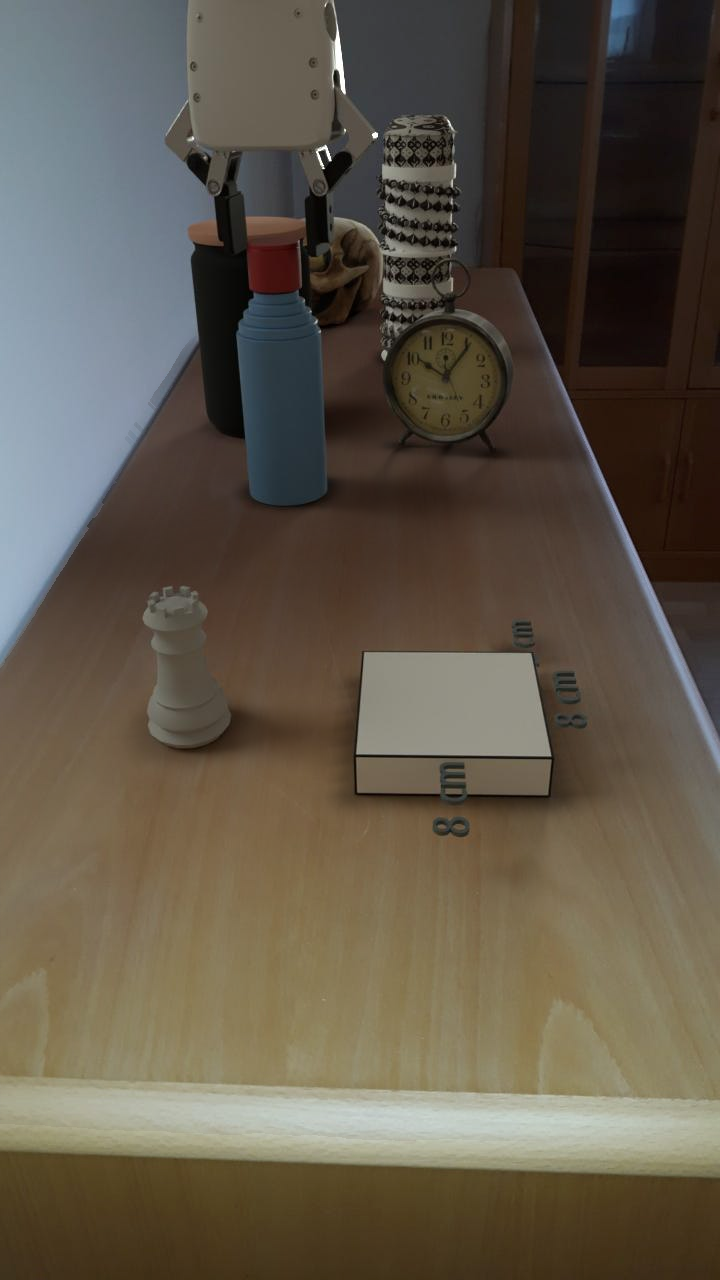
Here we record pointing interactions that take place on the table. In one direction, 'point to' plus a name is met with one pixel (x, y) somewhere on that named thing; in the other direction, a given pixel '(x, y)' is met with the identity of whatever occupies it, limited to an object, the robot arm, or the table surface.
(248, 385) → the bottle
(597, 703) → the table surface
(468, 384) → the alarm clock
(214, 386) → the coffee jar
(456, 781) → the container
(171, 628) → the rook chess piece
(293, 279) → the cap
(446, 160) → the decorative candle
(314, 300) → the skull
